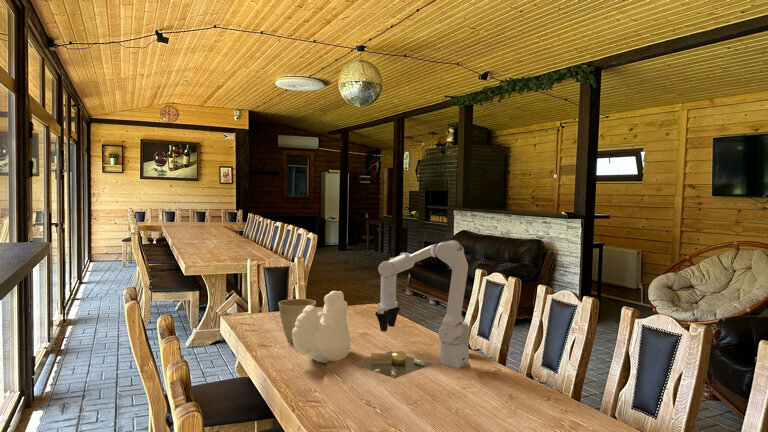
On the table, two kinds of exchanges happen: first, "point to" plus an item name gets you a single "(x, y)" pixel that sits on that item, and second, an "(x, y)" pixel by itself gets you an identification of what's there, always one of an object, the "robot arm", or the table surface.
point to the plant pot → (292, 314)
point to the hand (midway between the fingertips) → (387, 328)
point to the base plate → (393, 366)
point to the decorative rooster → (323, 330)
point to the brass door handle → (390, 357)
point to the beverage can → (465, 334)
